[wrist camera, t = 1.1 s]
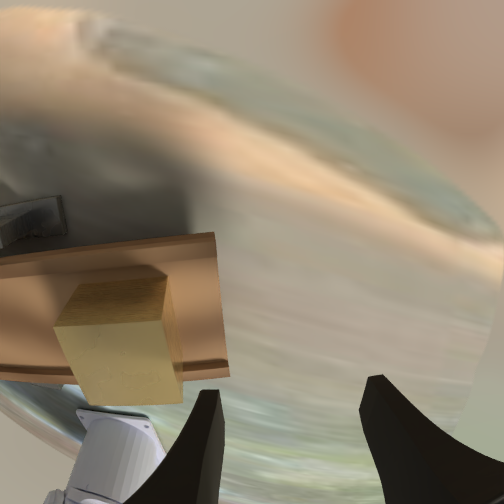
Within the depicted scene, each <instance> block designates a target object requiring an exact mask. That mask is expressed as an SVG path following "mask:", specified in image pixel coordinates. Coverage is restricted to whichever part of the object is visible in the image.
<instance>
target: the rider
mask: <svg viewBox="0 0 504 504" xmlns="http://www.w3.org/2000/svg"><path fill="white" fill-rule="evenodd" d="M53 329H54V331H55V334H56V336H57V338H58V341H59V343H60V345H61V348H62V350H63V352H64V355H65V357H66V359H67V361H68V363H69V365H70V368H71V370H72V372H73V374H74V376H75V378H76V380H77V382H78V384H79V386H80V388H81V390H82V392H83V394H84V396H85V397H86V399H87V401H88V403H89V405H98V406H133V405H161V404H178V403H183V350H182V346H181V341H180V336H179V332H178V327H177V322H176V317H175V311H174V306H173V301H172V295H171V290H170V284H169V278H168V276H162V277H152V278H142V279H131V280H121V281H110V282H99V283H88V284H79V285H78V287H77V288H76V290H75V291H74V293H73V294H72V296H71V298H70V299H69V301H68V302H67V304H66V306H65V307H64V309H63V311H62V312H61V314H60V316H59V317H58V319H57V321H56V322H55V324H54V326H53Z"/></svg>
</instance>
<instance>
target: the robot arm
mask: <svg viewBox="0 0 504 504" xmlns="http://www.w3.org/2000/svg"><path fill="white" fill-rule="evenodd" d="M359 413H360V418H361V423H362V427H363V431H364V434H365V437H366V440H367V443H368V446H369V448H370V451H371V454H372V457H373V459H374V462H375V465H376V468H377V471H378V473H379V476H380V480H381V483H382V488H383V493H384V498H385V503H386V504H504V462H500V461H497V460H495V459H492V458H490V457H488V456H485V455H483V454H481V453H479V452H477V451H475V450H473V449H471V448H469V447H468V446H466V445H464V444H462V443H461V442H459V441H457V440H455V439H454V438H453V437H451V436H450V435H448V434H447V433H446V432H444V431H443V430H441V429H440V428H439V427H438V426H436V425H435V424H434V423H433V422H432V421H430V420H429V419H428V418H427V417H426V416H425V415H423V414H422V413H421V412H420V411H419V410H418V409H417V408H416V407H415V406H414V405H413V404H412V403H411V402H410V401H409V400H408V399H407V398H406V397H405V396H404V395H403V394H402V393H401V392H400V391H399V390H398V389H397V388H396V387H395V386H394V385H393V384H392V383H391V382H390V381H389V380H388V379H387V378H386V377H385V376H384V375H383V374H382V375H376V376H370V377H368V379H367V383H366V387H365V390H364V394H363V398H362V401H361V404H360V408H359ZM76 414H77V416H78V418H79V419H80V421H81V422H82V424H83V426H84V427H85V429H86V430H87V433H86V435H85V438H84V441H83V443H82V446H81V448H80V451H79V454H78V456H77V459H76V462H75V464H74V467H73V470H72V473H71V476H70V479H69V481H68V484H67V487H66V490H64V491H61V490H59V489H56V490H53V491H50V492H49V494H48V495H47V497H46V499H45V501H44V503H43V504H218V497H219V487H220V479H221V471H222V463H223V454H224V446H225V421H224V416H223V410H222V404H221V398H220V392H219V390H201V391H200V393H199V395H198V398H197V401H196V403H195V405H194V408H193V410H192V412H191V414H190V416H189V418H188V420H187V422H186V424H185V425H184V427H183V429H182V431H181V433H180V434H179V436H178V438H177V439H176V441H175V443H174V444H173V446H172V447H171V449H170V450H169V452H168V453H167V455H166V453H165V451H164V449H163V446H162V444H161V442H160V440H159V438H158V436H157V434H156V432H155V429H154V427H153V425H152V423H151V421H150V419H148V418H145V417H135V416H126V415H117V414H109V413H102V412H95V411H89V410H83V409H77V410H76Z"/></svg>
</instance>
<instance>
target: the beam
mask: <svg viewBox="0 0 504 504" xmlns="http://www.w3.org/2000/svg"><path fill="white" fill-rule="evenodd" d="M162 276H168V278H169V284H170V290H171V295H172V301H173V306H174V311H175V317H176V322H177V327H178V332H179V336H180V341H181V346H182V350H183V381H193V380H204V379H213V378H222V377H230V372H229V365H228V358H227V350H226V341H225V333H224V324H223V314H222V305H221V295H220V286H219V275H218V265H217V250H216V240H215V234H214V232H206V233H196V234H187V235H177V236H168V237H159V238H149V239H141V240H132V241H123V242H114V243H106V244H98V245H90V246H81V247H73V248H66V249H58V250H50V251H43V252H35V253H28V254H21V255H13V256H6V257H0V380H9V381H20V382H33V383H49V384H74V385H79V384H78V382H77V380H76V378H75V376H74V374H73V372H72V370H71V368H70V365H69V363H68V361H67V359H66V357H65V355H64V352H63V350H62V348H61V345H60V343H59V341H58V338H57V336H56V334H55V331H54V329H53V326H54V324H55V322H56V321H57V319H58V317H59V316H60V314H61V312H62V311H63V309H64V307H65V306H66V304H67V302H68V301H69V299H70V298H71V296H72V294H73V293H74V291H75V290H76V288H77V287H78V285H79V284H88V283H99V282H110V281H121V280H131V279H142V278H152V277H162Z"/></svg>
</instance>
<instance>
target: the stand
mask: <svg viewBox="0 0 504 504" xmlns="http://www.w3.org/2000/svg"><path fill="white" fill-rule="evenodd" d="M66 232H68V231H67V227H66V222H65V217H64V211H63V206H62V200H61V195H60V196H54V197H48V198H42V199H36V200H31V201H25V202H20V203H15V204H10V205H5V206H0V248H4V247H6V246H7V245H9V244H10V243H12V242H13V241H15V240H16V239H24V238H34V237H44V236H54V235H63V234H65V233H66ZM31 384H33V385H37V386H42V387H47V388H52V389H58V390H61V389H62V387H63V385H64V384H49V383H33V382H31Z"/></svg>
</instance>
